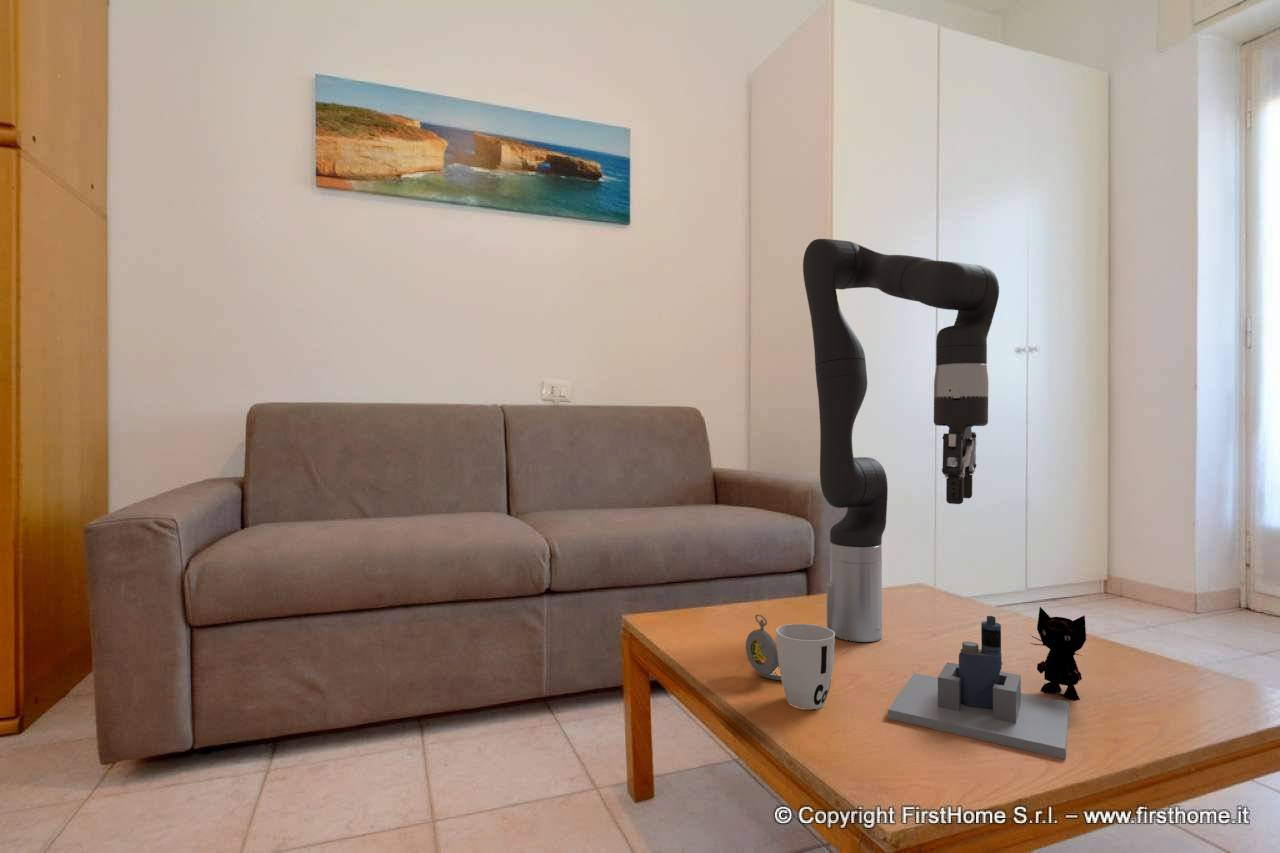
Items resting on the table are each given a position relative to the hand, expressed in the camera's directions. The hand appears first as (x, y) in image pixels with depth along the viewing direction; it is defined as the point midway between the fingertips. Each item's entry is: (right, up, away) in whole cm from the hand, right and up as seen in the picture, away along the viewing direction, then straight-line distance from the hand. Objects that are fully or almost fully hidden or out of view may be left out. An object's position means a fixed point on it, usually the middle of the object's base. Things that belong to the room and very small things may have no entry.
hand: (959, 500), depth 103 cm
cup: (-26, -28, -8) cm, 39 cm away
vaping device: (-3, -27, -12) cm, 29 cm away
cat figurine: (+13, -28, -5) cm, 31 cm away
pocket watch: (-28, -28, +2) cm, 40 cm away
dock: (-3, -28, -12) cm, 30 cm away
